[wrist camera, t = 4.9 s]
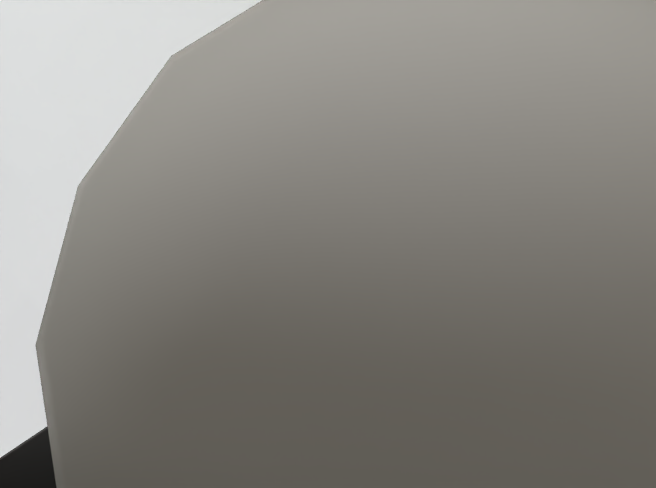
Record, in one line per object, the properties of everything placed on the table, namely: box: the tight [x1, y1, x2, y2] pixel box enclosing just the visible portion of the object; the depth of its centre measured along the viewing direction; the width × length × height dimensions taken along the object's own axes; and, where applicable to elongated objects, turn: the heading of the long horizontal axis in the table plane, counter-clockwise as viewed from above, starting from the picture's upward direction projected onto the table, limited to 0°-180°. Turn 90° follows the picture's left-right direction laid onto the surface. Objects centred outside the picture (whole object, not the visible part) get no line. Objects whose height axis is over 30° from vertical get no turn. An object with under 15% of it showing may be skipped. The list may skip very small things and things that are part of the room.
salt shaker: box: [36, 0, 656, 488], centre depth 9 cm, size 6×6×13 cm
